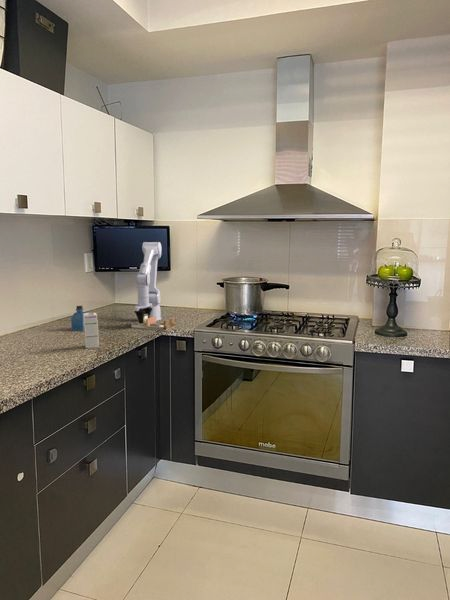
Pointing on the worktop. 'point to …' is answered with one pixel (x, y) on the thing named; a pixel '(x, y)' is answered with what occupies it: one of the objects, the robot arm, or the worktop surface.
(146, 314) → the jar
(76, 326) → the perfume bottle
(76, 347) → the worktop surface
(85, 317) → the syrup box
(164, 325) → the lane
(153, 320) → the pusher
